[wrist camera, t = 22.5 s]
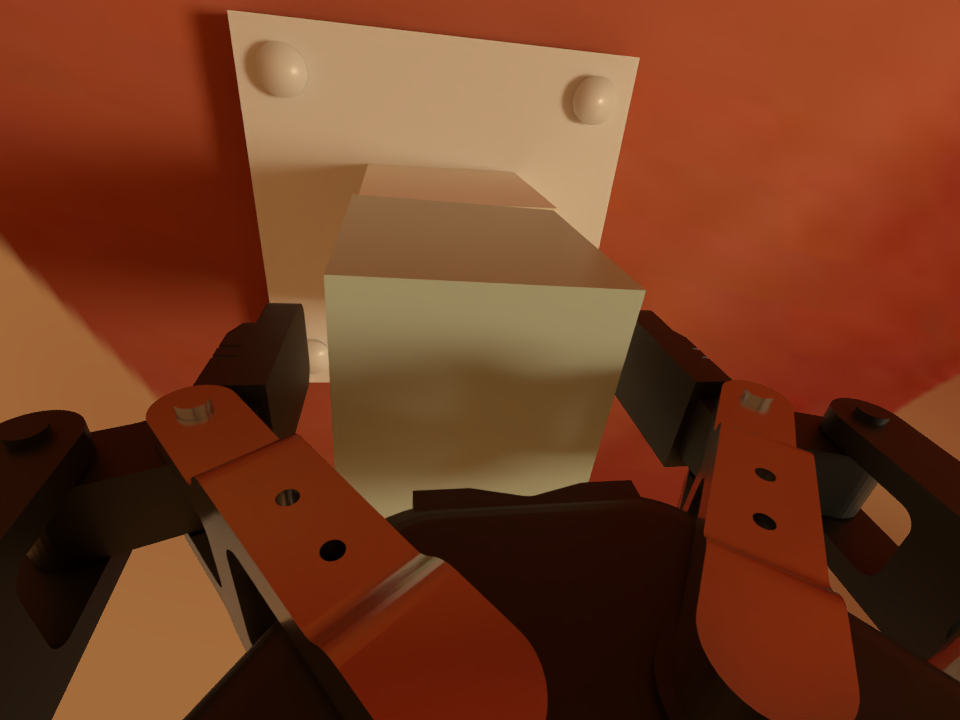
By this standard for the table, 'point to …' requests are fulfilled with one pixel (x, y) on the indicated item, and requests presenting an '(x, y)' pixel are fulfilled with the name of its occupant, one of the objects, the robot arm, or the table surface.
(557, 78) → the baseplate
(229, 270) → the table surface
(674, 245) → the table surface
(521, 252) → the sage brick
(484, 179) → the cream brick
